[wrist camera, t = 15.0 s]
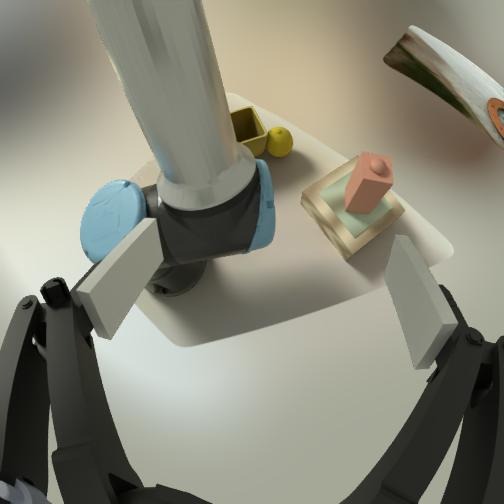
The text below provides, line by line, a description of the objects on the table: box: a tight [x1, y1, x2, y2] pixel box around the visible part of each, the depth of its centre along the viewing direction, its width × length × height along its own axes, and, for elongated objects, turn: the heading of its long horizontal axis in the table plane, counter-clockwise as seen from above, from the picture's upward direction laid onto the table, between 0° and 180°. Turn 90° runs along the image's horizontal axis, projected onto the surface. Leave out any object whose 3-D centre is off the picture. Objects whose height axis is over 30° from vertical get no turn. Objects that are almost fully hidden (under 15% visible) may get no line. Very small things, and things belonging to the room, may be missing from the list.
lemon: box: [266, 127, 293, 157], centre depth 52 cm, size 6×6×8 cm
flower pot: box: [230, 106, 268, 158], centre depth 52 cm, size 9×9×9 cm
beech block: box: [301, 156, 405, 261], centre depth 49 cm, size 14×14×6 cm
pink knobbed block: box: [345, 152, 393, 214], centre depth 40 cm, size 4×4×13 cm
